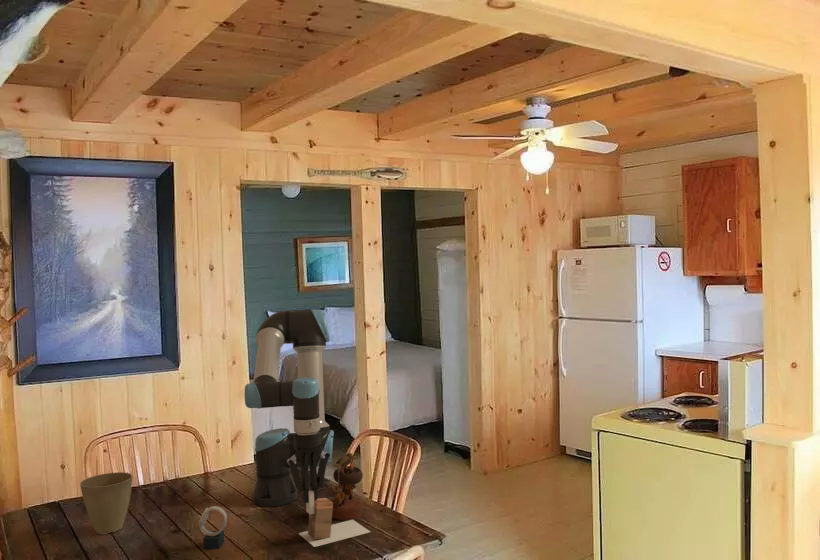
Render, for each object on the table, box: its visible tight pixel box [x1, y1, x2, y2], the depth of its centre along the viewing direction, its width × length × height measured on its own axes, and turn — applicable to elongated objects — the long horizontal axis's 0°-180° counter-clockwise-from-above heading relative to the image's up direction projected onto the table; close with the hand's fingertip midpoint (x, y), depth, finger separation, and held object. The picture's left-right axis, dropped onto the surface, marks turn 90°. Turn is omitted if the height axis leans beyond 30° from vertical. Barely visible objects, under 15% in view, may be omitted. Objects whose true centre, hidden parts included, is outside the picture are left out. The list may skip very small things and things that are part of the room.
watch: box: [198, 505, 228, 550], centre depth 197 cm, size 6×8×11 cm
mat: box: [298, 519, 371, 548], centre depth 202 cm, size 12×18×1 cm, turn 121°
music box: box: [330, 452, 364, 521], centre depth 217 cm, size 15×11×20 cm
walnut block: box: [307, 497, 333, 539], centre depth 200 cm, size 5×5×10 cm
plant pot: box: [79, 471, 133, 533], centre depth 212 cm, size 15×15×16 cm
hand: (310, 512), depth 198 cm, fingers closed
